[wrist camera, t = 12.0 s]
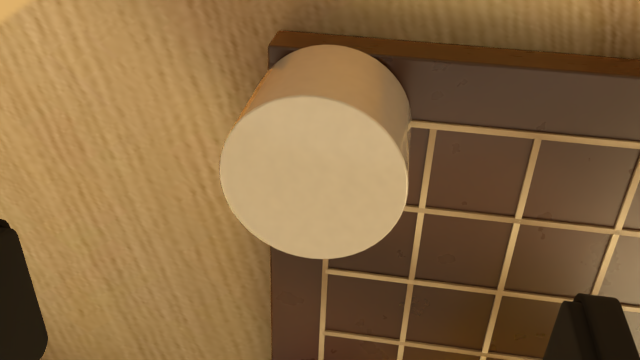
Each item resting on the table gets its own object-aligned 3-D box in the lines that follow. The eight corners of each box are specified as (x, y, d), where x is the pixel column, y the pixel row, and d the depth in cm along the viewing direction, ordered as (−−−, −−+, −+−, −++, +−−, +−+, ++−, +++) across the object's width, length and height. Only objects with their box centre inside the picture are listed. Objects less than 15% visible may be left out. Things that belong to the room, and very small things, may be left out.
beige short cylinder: (250, 37, 17) (213, 86, 14) (421, 51, 17) (419, 105, 14) (254, 180, 20) (223, 248, 17) (402, 197, 19) (398, 270, 16)
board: (278, 29, 19) (265, 46, 17) (841, 75, 17) (877, 98, 16) (279, 381, 27) (271, 411, 26) (655, 436, 25) (668, 472, 24)
